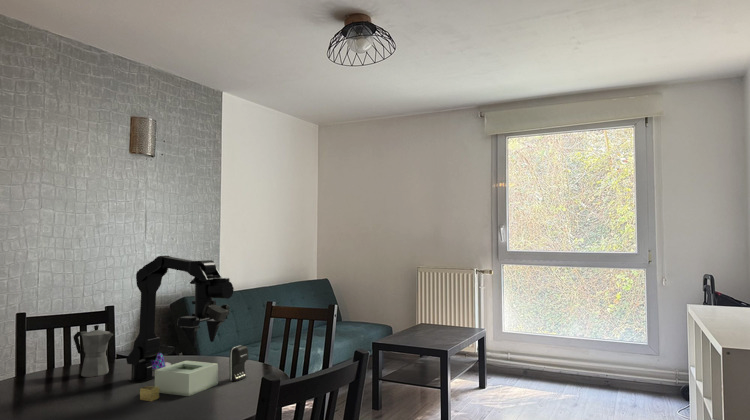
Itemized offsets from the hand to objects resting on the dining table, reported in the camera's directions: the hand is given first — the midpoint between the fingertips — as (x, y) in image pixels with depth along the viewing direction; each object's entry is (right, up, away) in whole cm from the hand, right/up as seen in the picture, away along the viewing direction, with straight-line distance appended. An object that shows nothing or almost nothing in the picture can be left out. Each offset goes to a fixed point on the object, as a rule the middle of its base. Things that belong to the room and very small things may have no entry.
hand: (203, 344), depth 168 cm
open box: (-5, -14, -1) cm, 15 cm away
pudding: (-29, -17, +28) cm, 44 cm away
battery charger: (+10, -15, +9) cm, 20 cm away
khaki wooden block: (-13, -14, -12) cm, 22 cm away
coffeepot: (-48, -16, +19) cm, 54 cm away
